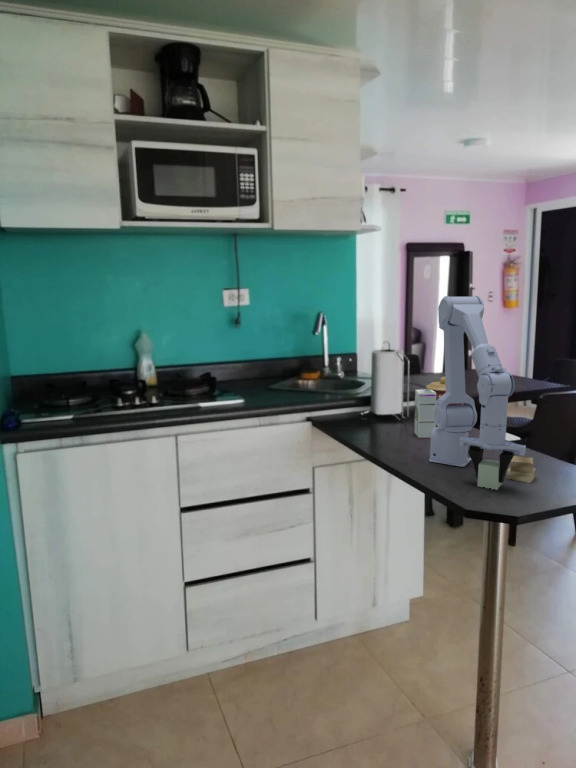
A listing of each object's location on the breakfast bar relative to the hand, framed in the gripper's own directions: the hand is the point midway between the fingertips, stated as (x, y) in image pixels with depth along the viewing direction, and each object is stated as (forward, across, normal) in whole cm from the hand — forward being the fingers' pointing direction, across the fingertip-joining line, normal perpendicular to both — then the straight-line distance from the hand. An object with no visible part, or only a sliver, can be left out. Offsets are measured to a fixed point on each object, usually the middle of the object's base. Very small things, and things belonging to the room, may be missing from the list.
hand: (489, 479), depth 133 cm
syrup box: (+2, -29, +36) cm, 46 cm away
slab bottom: (+2, +5, +10) cm, 11 cm away
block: (+1, 0, 0) cm, 1 cm away
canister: (+2, -27, +47) cm, 54 cm away
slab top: (-1, +5, +10) cm, 11 cm away
